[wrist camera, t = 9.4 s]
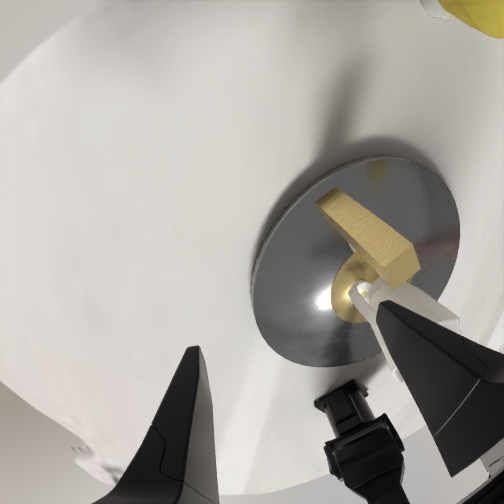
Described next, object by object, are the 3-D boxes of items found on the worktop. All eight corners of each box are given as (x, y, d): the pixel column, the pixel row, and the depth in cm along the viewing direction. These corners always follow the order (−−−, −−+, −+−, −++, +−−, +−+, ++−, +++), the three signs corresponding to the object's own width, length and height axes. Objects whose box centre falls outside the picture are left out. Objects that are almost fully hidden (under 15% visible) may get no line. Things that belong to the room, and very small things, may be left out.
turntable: (463, 275, 29) (513, 322, 20) (322, 384, 32) (350, 449, 24) (417, 106, 18) (515, 129, 10) (192, 273, 22) (197, 378, 13)
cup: (379, 328, 27) (418, 386, 20) (308, 303, 24) (348, 378, 17) (422, 275, 25) (472, 326, 18) (359, 233, 21) (423, 294, 14)
